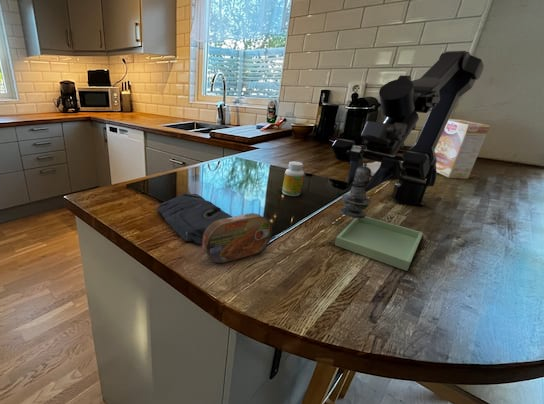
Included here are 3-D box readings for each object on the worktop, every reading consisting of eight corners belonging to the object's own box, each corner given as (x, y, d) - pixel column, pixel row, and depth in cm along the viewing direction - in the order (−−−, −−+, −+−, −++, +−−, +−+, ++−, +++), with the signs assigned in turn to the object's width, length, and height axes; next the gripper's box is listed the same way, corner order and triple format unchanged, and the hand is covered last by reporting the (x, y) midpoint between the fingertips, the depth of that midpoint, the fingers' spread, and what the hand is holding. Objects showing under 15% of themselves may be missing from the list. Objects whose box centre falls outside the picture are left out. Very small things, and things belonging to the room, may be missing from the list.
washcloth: (414, 175, 112) (417, 167, 111) (383, 181, 105) (385, 172, 104) (384, 167, 122) (386, 159, 121) (353, 171, 115) (355, 163, 114)
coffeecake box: (423, 166, 124) (440, 118, 116) (442, 167, 123) (460, 119, 115) (447, 177, 110) (468, 124, 102) (469, 179, 109) (491, 125, 101)
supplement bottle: (291, 197, 89) (296, 166, 85) (278, 191, 93) (282, 161, 90) (303, 194, 91) (309, 164, 88) (290, 189, 96) (295, 160, 92)
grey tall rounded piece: (354, 207, 72) (367, 158, 67) (373, 217, 66) (388, 166, 62) (333, 208, 71) (344, 159, 66) (350, 219, 65) (364, 167, 61)
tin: (206, 267, 56) (208, 227, 53) (198, 258, 59) (200, 220, 55) (270, 251, 62) (276, 214, 58) (261, 243, 64) (266, 208, 61)
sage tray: (356, 221, 75) (358, 214, 74) (420, 240, 67) (423, 232, 66) (334, 245, 64) (336, 237, 64) (407, 271, 56) (410, 262, 55)
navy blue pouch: (202, 199, 87) (203, 184, 85) (249, 233, 69) (251, 214, 67) (153, 208, 80) (152, 192, 78) (191, 248, 62) (191, 228, 60)
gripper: (345, 103, 68) (308, 157, 67) (444, 111, 54) (400, 179, 53) (354, 134, 76) (321, 183, 74) (444, 148, 62) (405, 209, 60)
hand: (356, 187), depth 65 cm, fingers closed on grey tall rounded piece, 3 cm apart
